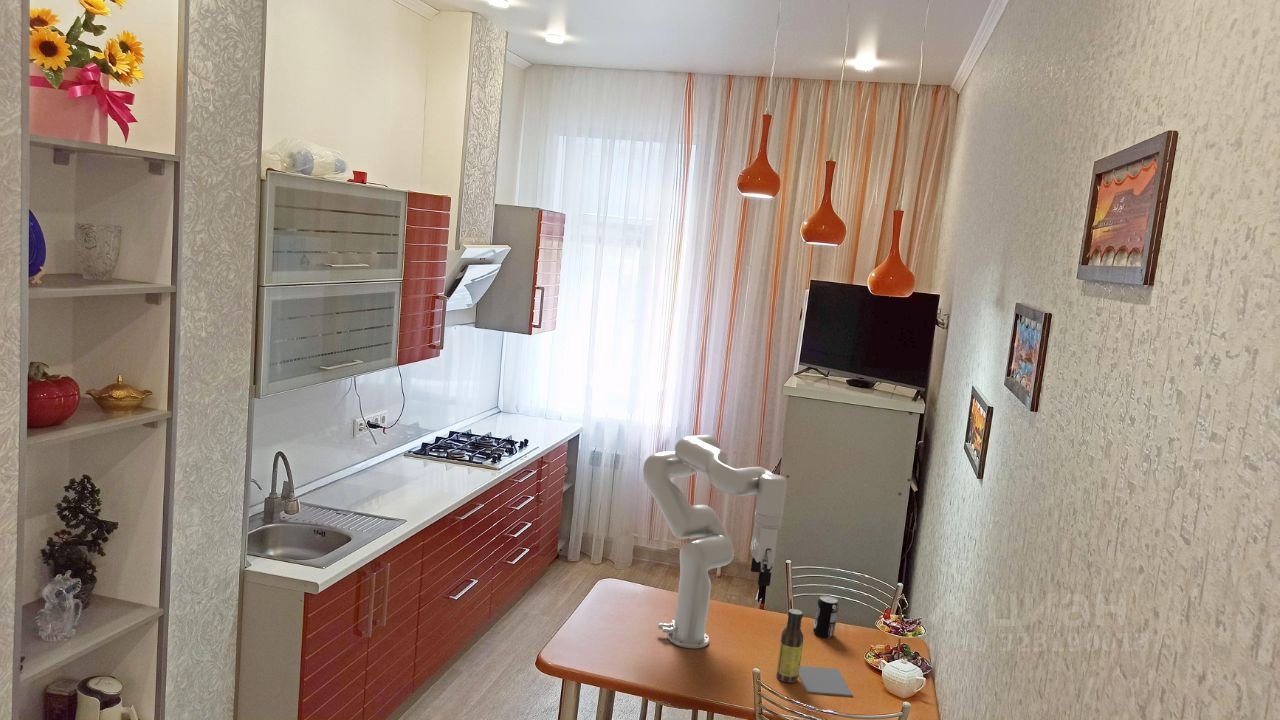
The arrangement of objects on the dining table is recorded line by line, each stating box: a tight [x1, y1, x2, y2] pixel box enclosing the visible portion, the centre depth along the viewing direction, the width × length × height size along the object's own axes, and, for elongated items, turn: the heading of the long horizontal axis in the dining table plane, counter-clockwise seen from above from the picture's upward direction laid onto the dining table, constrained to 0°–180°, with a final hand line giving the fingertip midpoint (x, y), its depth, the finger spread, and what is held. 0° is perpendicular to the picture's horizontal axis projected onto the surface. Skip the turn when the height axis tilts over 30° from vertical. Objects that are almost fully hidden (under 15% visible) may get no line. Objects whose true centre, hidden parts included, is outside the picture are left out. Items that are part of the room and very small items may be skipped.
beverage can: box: [813, 594, 839, 639], centre depth 292 cm, size 7×7×12 cm
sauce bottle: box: [775, 608, 804, 683], centre depth 259 cm, size 6×6×20 cm
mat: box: [798, 665, 854, 697], centre depth 261 cm, size 13×15×1 cm
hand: (759, 578), depth 256 cm, fingers open, 9 cm apart
